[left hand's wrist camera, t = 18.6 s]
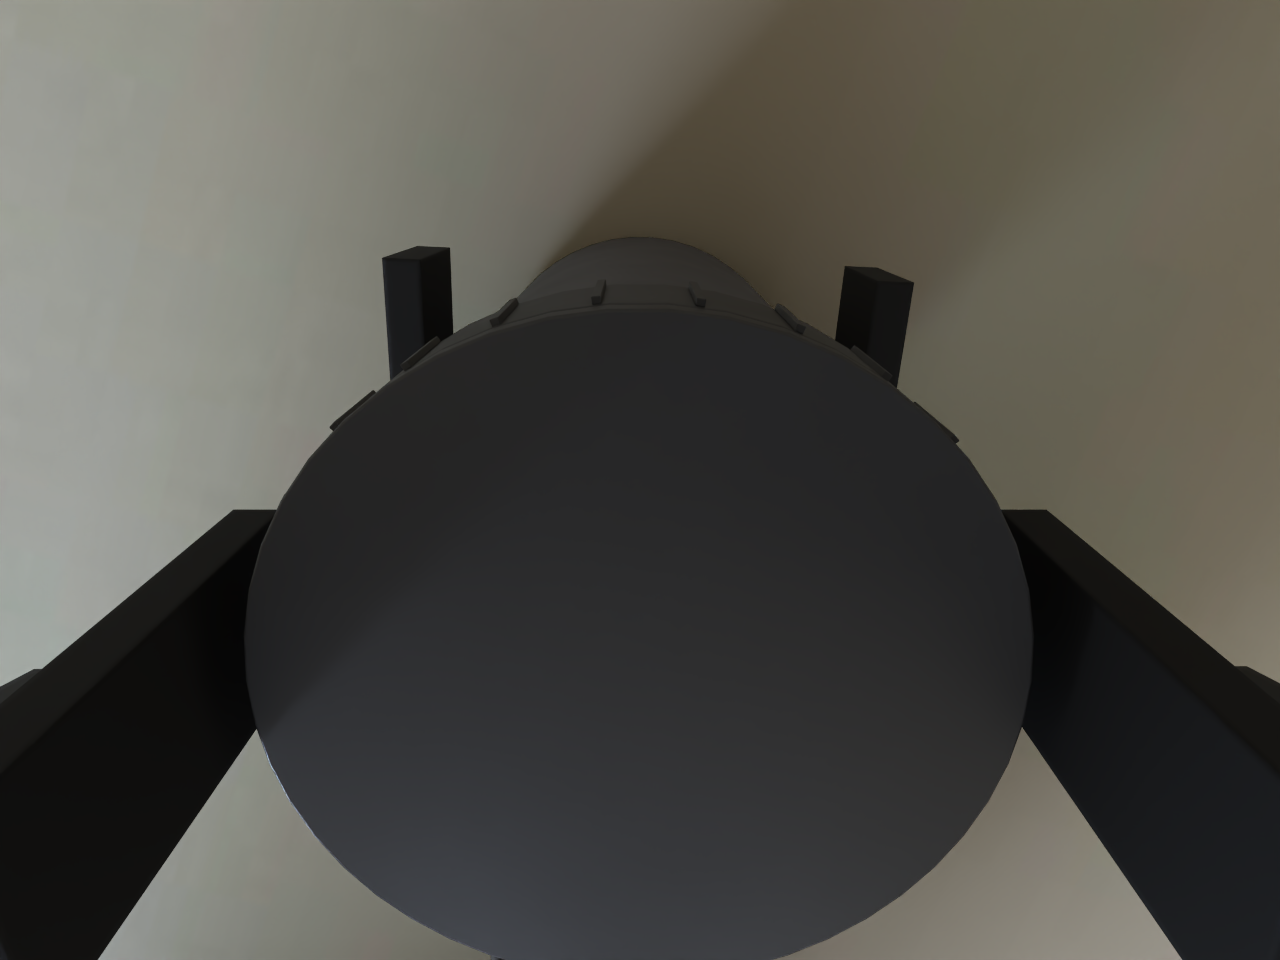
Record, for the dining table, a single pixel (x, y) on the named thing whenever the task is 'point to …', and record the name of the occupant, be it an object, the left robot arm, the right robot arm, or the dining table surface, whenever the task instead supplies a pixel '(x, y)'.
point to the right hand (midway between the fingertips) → (648, 263)
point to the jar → (640, 269)
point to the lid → (638, 633)
